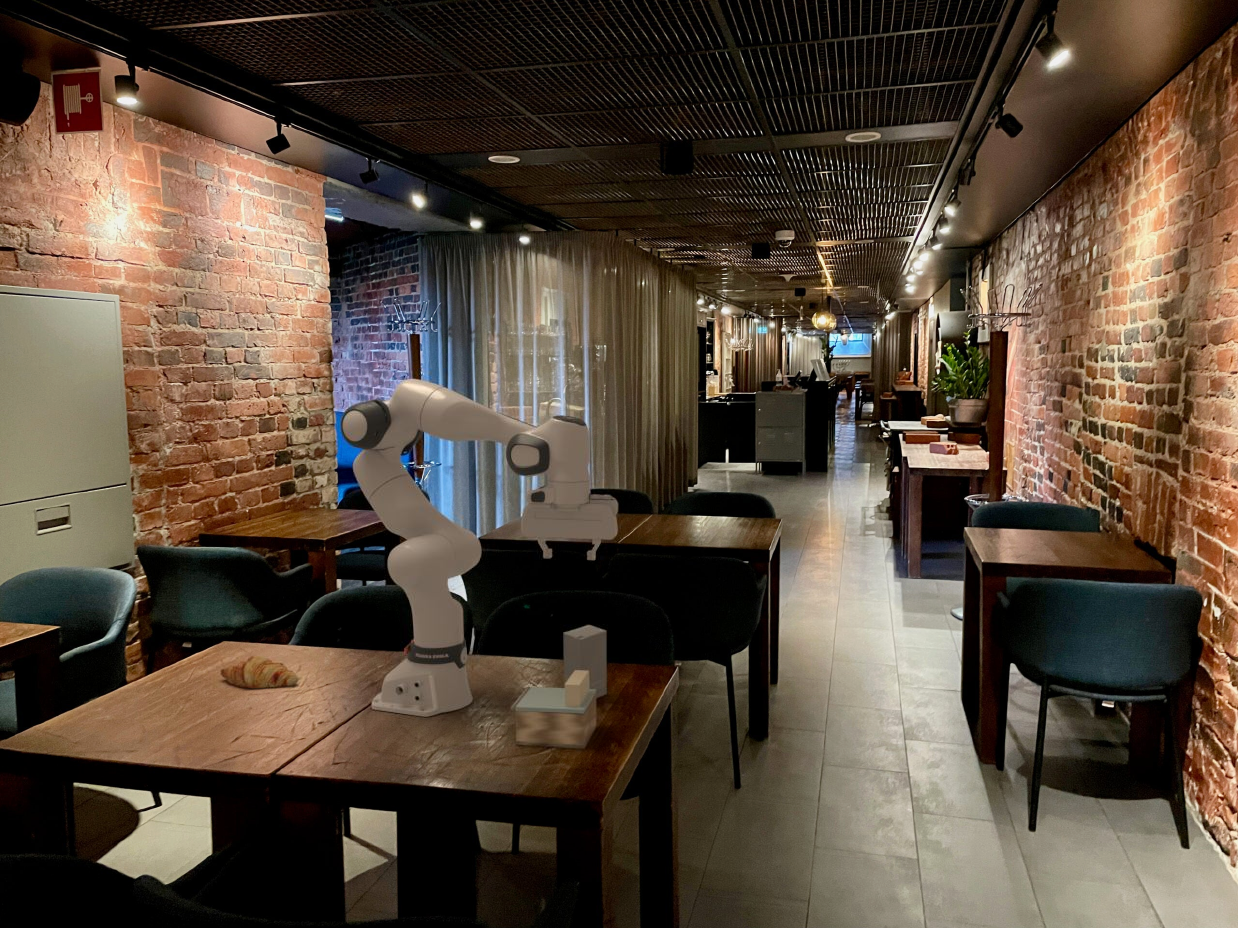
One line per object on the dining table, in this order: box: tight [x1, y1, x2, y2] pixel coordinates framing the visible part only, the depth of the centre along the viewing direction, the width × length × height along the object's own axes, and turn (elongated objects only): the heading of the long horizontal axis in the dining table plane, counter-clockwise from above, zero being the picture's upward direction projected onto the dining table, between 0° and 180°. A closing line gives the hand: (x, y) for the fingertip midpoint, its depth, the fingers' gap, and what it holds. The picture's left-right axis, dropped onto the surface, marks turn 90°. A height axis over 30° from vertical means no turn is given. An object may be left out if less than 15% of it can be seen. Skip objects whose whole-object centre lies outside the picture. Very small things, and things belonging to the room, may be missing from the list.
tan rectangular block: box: [565, 670, 590, 707], centre depth 187 cm, size 3×9×4 cm, turn 170°
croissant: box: [220, 655, 299, 689], centre depth 224 cm, size 21×10×8 cm, turn 77°
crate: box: [514, 694, 598, 750], centre depth 189 cm, size 14×12×7 cm
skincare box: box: [563, 624, 608, 699], centre depth 211 cm, size 8×7×16 cm
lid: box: [509, 686, 596, 714], centre depth 188 cm, size 15×12×1 cm
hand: (569, 558), depth 193 cm, fingers open, 8 cm apart
